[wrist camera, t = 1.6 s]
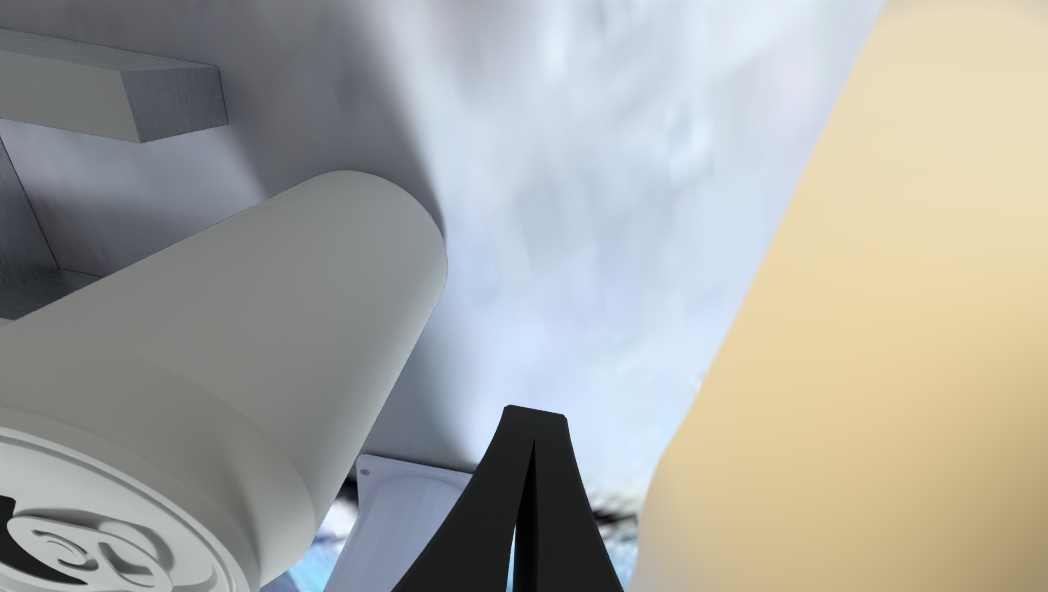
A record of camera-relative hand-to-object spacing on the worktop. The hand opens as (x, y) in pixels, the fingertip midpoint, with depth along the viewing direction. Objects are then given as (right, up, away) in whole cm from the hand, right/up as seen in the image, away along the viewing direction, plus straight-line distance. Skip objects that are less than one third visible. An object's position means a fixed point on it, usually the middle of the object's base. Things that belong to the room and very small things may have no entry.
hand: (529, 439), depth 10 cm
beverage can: (-6, +5, +7) cm, 11 cm away
